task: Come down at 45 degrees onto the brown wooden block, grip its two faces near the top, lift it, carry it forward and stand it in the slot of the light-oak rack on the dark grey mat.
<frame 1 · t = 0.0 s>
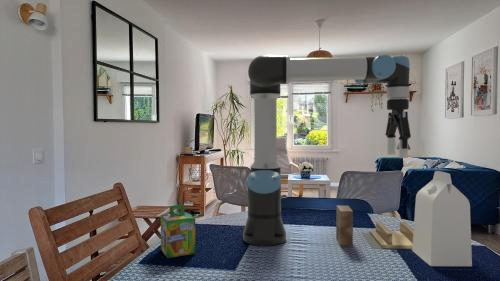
hand: (396, 156, 133), 28 cm above the table, tool pointing down, fingers open, 13 cm apart
chalk box: (178, 252, 113), on the table
mat: (396, 241, 122), on the table
milk: (440, 259, 106), on the table
brown wooden block: (344, 243, 120), on the table
rack: (396, 240, 122), resting on mat
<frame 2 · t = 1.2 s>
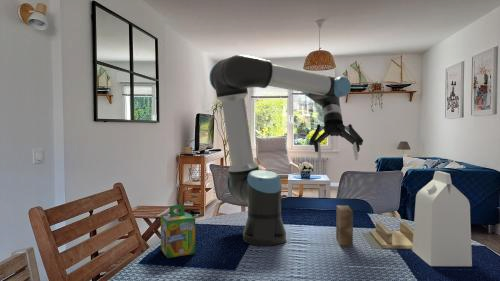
hand: (338, 157, 133), 28 cm above the table, tool tilted 45°, fingers open, 13 cm apart
nothing on the table moved.
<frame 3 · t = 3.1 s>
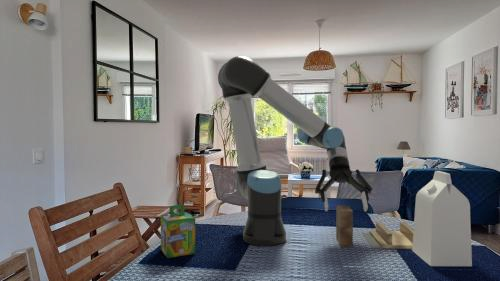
hand: (346, 209, 124), 10 cm above the table, tool tilted 45°, fingers open, 13 cm apart
nothing on the table moved.
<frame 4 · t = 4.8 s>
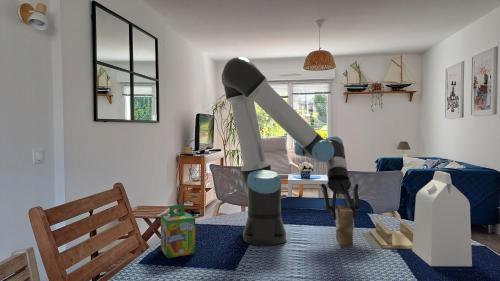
hand: (345, 228, 118), 6 cm above the table, tool tilted 45°, fingers closed on brown wooden block, 4 cm apart
brown wooden block: (344, 243, 120), on the table, touching gripper
everything else where it was.
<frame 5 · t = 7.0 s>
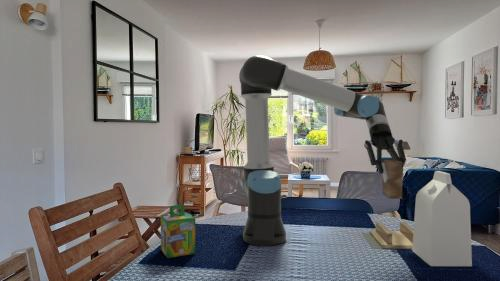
hand: (393, 180, 119), 21 cm above the table, tool tilted 45°, fingers closed on brown wooden block, 4 cm apart
brown wooden block: (392, 196, 121), point 16 cm above the table, touching gripper
everything else where it was.
when the fingers open (8 cm above the table, at t = 9.6 s): brown wooden block drops 1 cm, resting on rack.
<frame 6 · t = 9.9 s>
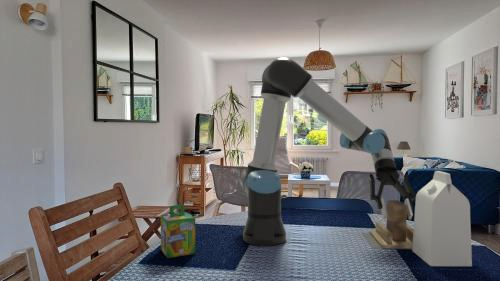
hand: (397, 216, 120), 9 cm above the table, tool tilted 45°, fingers open, 8 cm apart
brown wooden block: (395, 237, 122), point 1 cm above the table, touching rack
everything else where it was.
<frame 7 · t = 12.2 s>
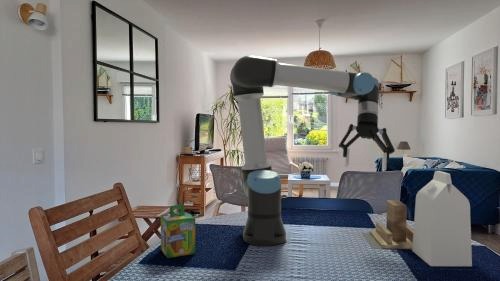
hand: (365, 168, 132), 24 cm above the table, tool tilted 25°, fingers open, 13 cm apart
nothing on the table moved.
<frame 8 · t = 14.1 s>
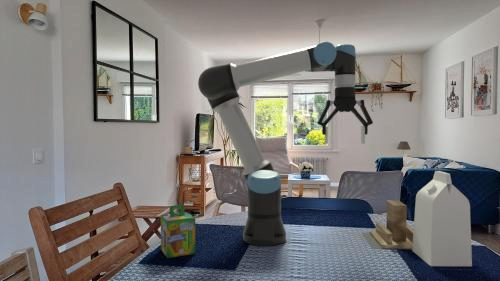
hand: (344, 143, 135), 33 cm above the table, tool pointing down, fingers open, 13 cm apart
nothing on the table moved.
at the end: brown wooden block inside the target area on the rack (0.1 cm from its centre), point 1.0 cm above the rack's base; brown wooden block tilted 0°; the gripper is holding nothing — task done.
